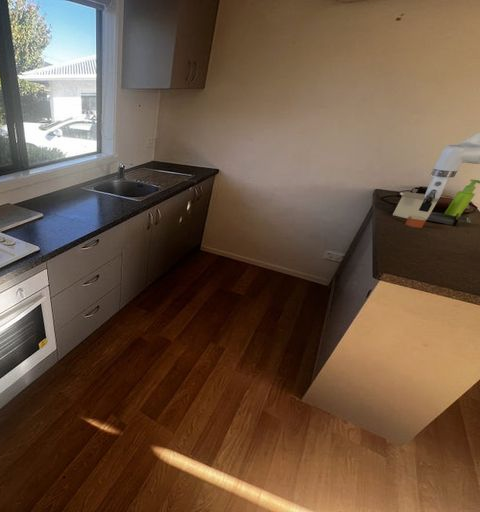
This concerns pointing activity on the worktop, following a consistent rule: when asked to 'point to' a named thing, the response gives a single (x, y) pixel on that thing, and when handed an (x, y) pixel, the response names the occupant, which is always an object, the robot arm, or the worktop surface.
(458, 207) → the soap dispenser
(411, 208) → the cream box
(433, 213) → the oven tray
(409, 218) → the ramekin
